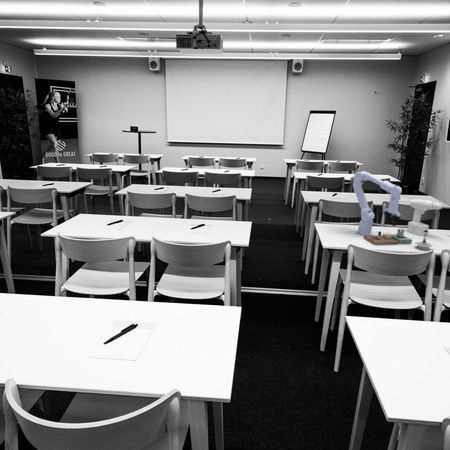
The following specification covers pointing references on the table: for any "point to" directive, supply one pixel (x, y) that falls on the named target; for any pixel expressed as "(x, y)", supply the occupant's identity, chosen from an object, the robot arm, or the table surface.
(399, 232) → the steel peg
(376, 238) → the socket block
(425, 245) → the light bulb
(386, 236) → the release key
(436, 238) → the table surface
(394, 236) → the rack
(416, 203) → the power drill
